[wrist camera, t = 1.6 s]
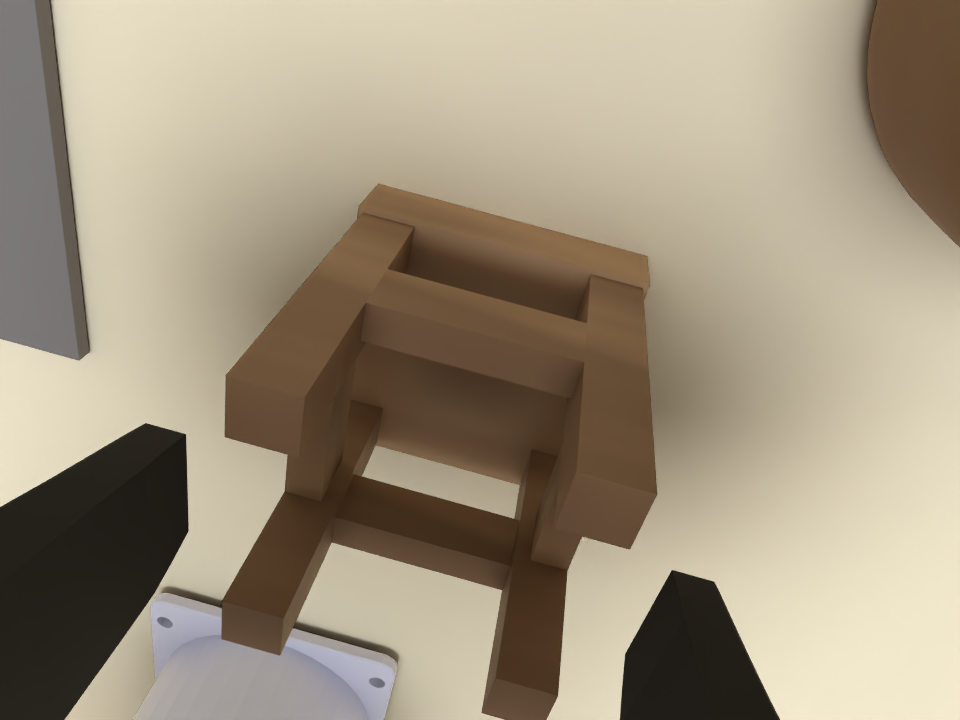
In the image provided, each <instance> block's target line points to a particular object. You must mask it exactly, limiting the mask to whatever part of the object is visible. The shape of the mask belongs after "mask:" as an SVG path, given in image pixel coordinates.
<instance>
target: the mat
mask: <svg viewBox="0 0 960 720" xmlns="http://www.w3.org/2000/svg"><path fill="white" fill-rule="evenodd" d="M0 339H3V340H7V341H10V342H14V343H18V344H21V345H25V346H28V347H32V348H36V349H39V350H43V351H46V352H50V353H54V354H57V355H61V356H65V357H68V358H72V359H75V360H80V359H82V358H83V357H84V356H85V355H86V354H88V353H89V346H88V338H87V329H86V320H85V311H84V302H83V293H82V284H81V276H80V267H79V258H78V249H77V240H76V231H75V222H74V214H73V205H72V196H71V187H70V178H69V169H68V160H67V152H66V143H65V134H64V125H63V116H62V107H61V99H60V90H59V81H58V72H57V63H56V54H55V45H54V37H53V28H52V19H51V10H50V1H49V0H0Z"/></svg>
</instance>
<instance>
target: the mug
mask: <svg viewBox="0 0 960 720" xmlns="http://www.w3.org/2000/svg"><path fill="white" fill-rule="evenodd" d="M867 83H868V93H869V103H870V109H871V114H872V117H873V121H874V125H875V129H876V133H877V137H878V141H879V143H880V145H881V147H882V150H883V152H884V154H885V157H886V159H887V161H888V163H889V166H890V167H891V169H892V170H893V172H894V173H895V175H896V176H897V178H898V179H899V181H900V182H901V184H902V185H903V187H904V188H905V190H906V191H907V192H908V194H909V195H910V197H911V198H912V199H913V200H914V201H915V202H916V203H917V204H918V205H919V206H920V207H921V208H922V209H923V210H924V212H925V213H926V214H927V215H928V216H929V217H930V218H931V219H932V220H933V221H934V222H935V223H936V224H937V225H938V227H939V228H941V229H942V230H943V231H944V232H945V233H946V234H947V235H948V236H949V237H950V238H951V239H952V240H953V241H954V242H955V243H956V244H957V245H958V246H959V247H960V0H878V2H877V5H876V9H875V12H874V17H873V23H872V28H871V34H870V40H869V46H868V66H867Z"/></svg>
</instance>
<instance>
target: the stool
mask: <svg viewBox="0 0 960 720" xmlns="http://www.w3.org/2000/svg"><path fill="white" fill-rule="evenodd" d="M649 286H650V280H649V269H648V258H647V256H644V255H641V254H637V253H633V252H630V251H626V250H622V249H618V248H615V247H611V246H607V245H604V244H600V243H596V242H593V241H589V240H585V239H581V238H578V237H574V236H570V235H567V234H563V233H559V232H555V231H552V230H548V229H544V228H541V227H537V226H533V225H529V224H526V223H522V222H518V221H515V220H511V219H507V218H503V217H500V216H496V215H492V214H489V213H485V212H481V211H477V210H474V209H470V208H466V207H463V206H459V205H455V204H451V203H448V202H444V201H440V200H437V199H433V198H429V197H426V196H422V195H418V194H414V193H411V192H407V191H403V190H400V189H396V188H392V187H388V186H385V185H381V184H378V185H377V186H376V187H375V188H374V189H373V191H372V192H371V193H370V194H369V195H368V196H367V197H366V199H365V200H364V201H363V202H362V203H361V204H360V205H359V208H358V216H357V221H356V222H355V223H354V224H353V225H352V227H351V228H350V229H349V230H348V231H347V232H346V234H345V235H344V236H343V237H342V238H341V240H340V241H339V242H338V243H337V244H336V245H335V247H334V248H333V249H332V250H331V251H330V253H329V254H328V255H327V256H326V257H325V258H324V260H323V261H322V262H321V263H320V264H319V266H318V267H317V268H316V269H315V270H314V271H313V273H312V274H311V275H310V276H309V277H308V279H307V280H306V281H305V282H304V283H303V285H302V286H301V287H300V288H299V289H298V290H297V292H296V293H295V294H294V295H293V296H292V298H291V299H290V300H289V301H288V302H287V303H286V305H285V306H284V307H283V308H282V309H281V311H280V312H279V313H278V314H277V315H276V316H275V318H274V319H273V320H272V321H271V322H270V324H269V325H268V326H267V327H266V328H265V329H264V331H263V332H262V333H261V334H260V335H259V337H258V338H257V339H256V340H255V341H254V343H253V344H252V345H251V346H250V347H249V348H248V350H247V351H246V352H245V353H244V354H243V356H242V357H241V358H240V359H239V360H238V361H237V363H236V364H235V365H234V366H233V367H232V369H231V370H230V371H229V372H228V373H227V374H226V393H225V437H226V438H230V439H234V440H237V441H241V442H244V443H248V444H252V445H255V446H259V447H262V448H266V449H270V450H273V451H277V452H280V453H284V454H288V458H287V470H286V482H285V492H284V494H283V495H282V497H281V499H280V501H279V502H278V504H277V506H276V508H275V509H274V511H273V513H272V515H271V516H270V518H269V520H268V522H267V523H266V525H265V527H264V529H263V530H262V532H261V534H260V536H259V537H258V539H257V541H256V543H255V544H254V546H253V548H252V550H251V551H250V553H249V555H248V556H247V558H246V560H245V562H244V563H243V565H242V567H241V569H240V570H239V572H238V574H237V576H236V577H235V579H234V581H233V583H232V584H231V586H230V588H229V590H228V591H227V593H226V595H225V597H224V598H223V600H222V628H221V639H222V640H226V641H229V642H233V643H236V644H240V645H244V646H247V647H251V648H254V649H258V650H261V651H265V652H268V653H272V654H275V655H279V656H280V655H281V653H282V651H283V648H284V646H285V644H286V642H287V640H288V637H289V635H290V633H291V631H292V629H293V626H294V624H295V622H296V620H297V617H298V615H299V613H300V611H301V609H302V606H303V604H304V602H305V600H306V598H307V595H308V593H309V591H310V589H311V587H312V584H313V582H314V580H315V578H316V576H317V573H318V571H319V569H320V567H321V564H322V562H323V560H324V558H325V556H326V553H327V551H328V549H329V547H330V545H331V542H332V543H336V544H340V545H343V546H347V547H350V548H354V549H357V550H361V551H365V552H368V553H372V554H375V555H379V556H382V557H386V558H390V559H393V560H397V561H400V562H404V563H407V564H411V565H415V566H418V567H422V568H425V569H429V570H432V571H436V572H440V573H443V574H447V575H450V576H454V577H458V578H461V579H465V580H468V581H472V582H475V583H479V584H483V585H486V586H490V587H493V588H497V589H500V590H502V595H501V601H500V607H499V613H498V619H497V624H496V630H495V636H494V642H493V648H492V654H491V660H490V666H489V672H488V678H487V684H486V690H485V695H484V701H483V707H482V713H483V714H487V715H490V716H494V717H498V718H501V719H505V720H546V719H547V717H548V715H549V713H550V711H551V709H552V707H553V705H554V703H555V701H556V699H557V697H558V689H559V675H560V662H561V649H562V635H563V622H564V609H565V595H566V582H567V570H568V568H569V565H570V563H571V561H572V558H573V556H574V554H575V551H576V549H577V547H578V544H579V542H580V540H581V537H582V536H583V537H587V538H590V539H594V540H597V541H601V542H605V543H608V544H612V545H615V546H619V547H623V548H626V549H630V548H631V546H632V544H633V542H634V540H635V538H636V536H637V534H638V532H639V530H640V528H641V526H642V524H643V522H644V520H645V518H646V516H647V514H648V512H649V510H650V508H651V506H652V504H653V502H654V500H655V498H656V496H657V485H656V471H655V456H654V442H653V428H652V413H651V399H650V384H649V370H648V355H647V341H646V327H645V312H644V299H645V296H646V293H647V291H648V288H649ZM375 445H378V446H381V447H385V448H388V449H392V450H396V451H399V452H403V453H407V454H410V455H414V456H417V457H421V458H425V459H428V460H432V461H435V462H439V463H443V464H446V465H450V466H454V467H457V468H461V469H464V470H468V471H472V472H475V473H479V474H482V475H486V476H490V477H493V478H497V479H501V480H504V481H508V482H511V483H515V484H519V485H520V488H519V494H518V500H517V506H516V512H515V518H514V519H512V518H509V517H505V516H502V515H498V514H494V513H491V512H487V511H484V510H480V509H476V508H473V507H469V506H466V505H462V504H458V503H455V502H451V501H448V500H444V499H440V498H437V497H433V496H430V495H426V494H422V493H419V492H415V491H412V490H408V489H404V488H401V487H397V486H394V485H390V484H386V483H383V482H379V481H376V480H372V479H368V478H365V477H361V476H362V474H363V472H364V470H365V467H366V465H367V463H368V461H369V459H370V456H371V454H372V452H373V450H374V447H375Z"/></svg>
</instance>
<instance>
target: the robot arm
mask: <svg viewBox="0 0 960 720" xmlns="http://www.w3.org/2000/svg"><path fill="white" fill-rule="evenodd" d="M188 531H189V529H188V492H187V454H186V434H183V433H179V432H176V431H172V430H168V429H165V428H161V427H158V426H154V425H150V424H147V423H145V424H143V425H142V426H140V427H138V428H136V429H134V430H133V431H131V432H129V433H127V434H126V435H124V436H122V437H120V438H119V439H117V440H115V441H114V442H112V443H110V444H108V445H107V446H105V447H103V448H102V449H100V450H98V451H97V452H95V453H93V454H92V455H90V456H88V457H86V458H85V459H83V460H81V461H80V462H78V463H76V464H75V465H73V466H71V467H69V468H68V469H66V470H64V471H63V472H61V473H59V474H58V475H56V476H54V477H52V478H51V479H49V480H47V481H46V482H44V483H42V484H40V485H38V486H37V487H35V488H33V489H31V490H30V491H28V492H26V493H24V494H22V495H21V496H19V497H17V498H15V499H14V500H12V501H10V502H8V503H7V504H5V505H3V506H1V507H0V720H64V719H65V718H66V717H67V715H68V714H69V712H70V711H71V710H72V708H73V707H74V705H75V704H76V703H77V701H78V700H79V698H80V697H81V696H82V694H83V693H84V692H85V690H86V689H87V687H88V686H89V685H90V683H91V682H92V680H93V679H94V678H95V676H96V675H97V673H98V672H99V671H100V669H101V668H102V666H103V665H104V664H105V662H106V661H107V660H108V658H109V657H110V655H111V654H112V653H113V651H114V650H115V648H116V647H117V646H118V644H119V643H120V641H121V640H122V639H123V637H124V636H125V634H126V633H127V632H128V630H129V629H130V627H131V626H132V624H133V623H134V622H135V620H136V619H137V617H138V616H139V615H140V613H141V612H142V610H143V609H144V607H145V606H146V605H147V603H148V602H149V600H150V599H151V597H152V596H153V594H154V593H155V591H156V589H157V588H158V586H159V584H160V582H161V581H162V579H163V577H164V575H165V574H166V572H167V570H168V568H169V566H170V565H171V563H172V561H173V559H174V557H175V555H176V553H177V552H178V550H179V548H180V546H181V544H182V542H183V540H184V538H185V537H186V535H187V533H188ZM150 612H151V626H152V640H153V653H154V667H155V683H154V684H153V686H152V688H151V689H150V691H149V693H148V694H147V696H146V698H145V699H144V701H143V703H142V704H141V706H140V708H139V709H138V711H137V713H136V714H135V716H134V718H133V719H132V720H384V719H385V715H386V711H387V707H388V703H389V699H390V695H391V691H392V687H393V684H394V680H395V676H396V672H397V663H396V662H395V660H394V659H393V658H391V657H390V656H388V655H386V654H382V653H379V652H375V651H372V650H368V649H365V648H361V647H358V646H354V645H351V644H347V643H344V642H340V641H336V640H333V639H329V638H326V637H322V636H319V635H315V634H312V633H308V632H305V631H301V630H298V629H294V628H293V629H292V631H291V633H290V635H289V637H288V640H287V642H286V644H285V646H284V648H283V651H282V653H281V655H280V656H279V655H275V654H272V653H268V652H265V651H261V650H258V649H254V648H251V647H247V646H244V645H240V644H236V643H233V642H229V641H226V640H222V639H221V628H222V608H220V607H216V606H213V605H209V604H206V603H202V602H199V601H195V600H192V599H188V598H185V597H181V596H177V595H174V594H170V593H161V594H158V595H157V596H156V597H155V599H154V600H153V602H152V603H151V606H150ZM620 720H780V719H779V717H778V715H777V713H776V711H775V709H774V707H773V705H772V703H771V701H770V699H769V697H768V695H767V693H766V691H765V689H764V686H763V684H762V682H761V680H760V678H759V676H758V674H757V672H756V670H755V668H754V666H753V663H752V661H751V659H750V657H749V655H748V653H747V651H746V649H745V646H744V644H743V642H742V640H741V638H740V636H739V634H738V631H737V629H736V627H735V625H734V623H733V620H732V618H731V616H730V614H729V612H728V610H727V607H726V605H725V603H724V601H723V599H722V597H721V594H720V592H719V590H718V588H717V586H716V585H715V583H714V582H713V581H709V580H706V579H702V578H699V577H695V576H691V575H688V574H684V573H681V572H677V571H674V570H672V571H671V573H670V575H669V577H668V578H667V580H666V582H665V584H664V585H663V587H662V589H661V591H660V593H659V594H658V596H657V598H656V600H655V602H654V603H653V605H652V607H651V609H650V611H649V612H648V614H647V616H646V618H645V620H644V621H643V623H642V625H641V627H640V629H639V630H638V632H637V634H636V636H635V638H634V639H633V641H632V643H631V645H630V647H629V648H628V650H627V652H626V654H625V663H624V675H623V686H622V699H621V713H620Z"/></svg>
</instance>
